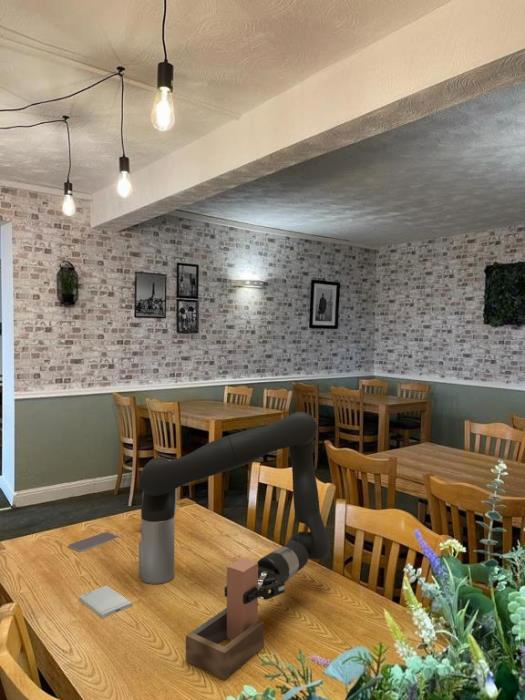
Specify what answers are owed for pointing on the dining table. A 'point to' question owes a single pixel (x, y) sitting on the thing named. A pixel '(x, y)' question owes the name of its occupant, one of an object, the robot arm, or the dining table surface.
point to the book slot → (216, 657)
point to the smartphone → (92, 542)
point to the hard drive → (105, 601)
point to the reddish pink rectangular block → (241, 596)
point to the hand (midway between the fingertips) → (235, 595)
